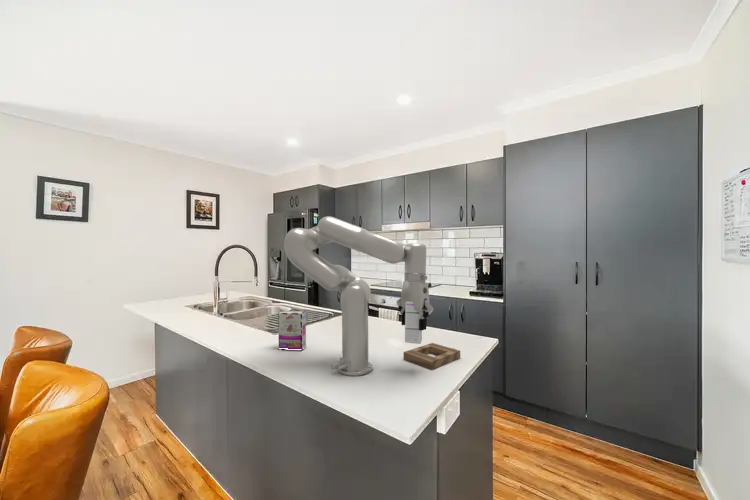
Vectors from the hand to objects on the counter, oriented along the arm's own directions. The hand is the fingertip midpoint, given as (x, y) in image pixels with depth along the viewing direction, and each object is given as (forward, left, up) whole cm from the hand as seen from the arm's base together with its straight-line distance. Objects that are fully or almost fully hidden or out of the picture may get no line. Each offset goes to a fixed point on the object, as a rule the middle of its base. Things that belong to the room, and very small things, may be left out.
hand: (413, 326), depth 106 cm
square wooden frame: (+15, +3, -16) cm, 22 cm away
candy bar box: (-22, +52, -16) cm, 59 cm away
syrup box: (0, 0, -5) cm, 5 cm away
